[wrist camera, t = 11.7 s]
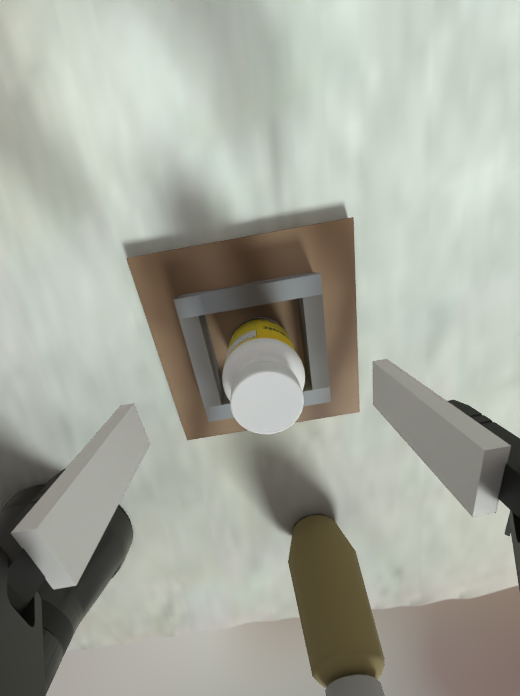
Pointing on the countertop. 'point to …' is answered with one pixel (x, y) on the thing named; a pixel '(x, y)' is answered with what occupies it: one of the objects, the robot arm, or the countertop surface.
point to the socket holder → (254, 316)
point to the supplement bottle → (263, 377)
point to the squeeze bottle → (334, 610)
